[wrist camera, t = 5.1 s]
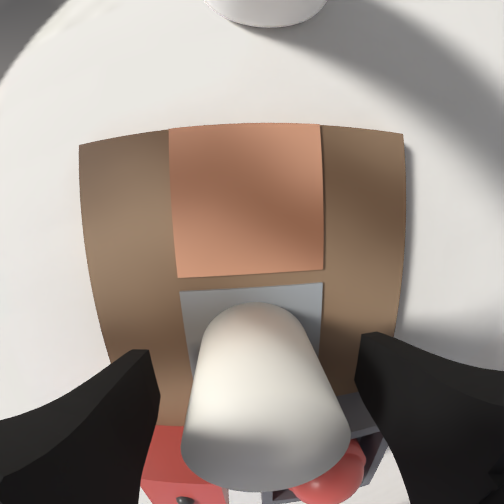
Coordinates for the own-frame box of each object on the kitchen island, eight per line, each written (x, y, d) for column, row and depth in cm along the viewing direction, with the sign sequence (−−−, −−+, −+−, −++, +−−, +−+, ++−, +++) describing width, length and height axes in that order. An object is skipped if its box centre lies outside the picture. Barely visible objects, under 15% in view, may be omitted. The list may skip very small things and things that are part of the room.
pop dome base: (355, 455, 13) (368, 484, 10) (258, 473, 12) (262, 505, 10) (377, 386, 11) (399, 418, 9) (254, 407, 11) (260, 447, 9)
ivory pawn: (242, 404, 11) (247, 503, 6) (179, 339, 10) (144, 439, 5) (325, 356, 10) (372, 449, 6) (269, 280, 10) (299, 364, 5)
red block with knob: (227, 464, 12) (229, 519, 8) (165, 462, 12) (157, 515, 8) (220, 426, 11) (220, 491, 7) (149, 424, 11) (133, 484, 7)
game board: (356, 446, 13) (360, 456, 12) (158, 463, 13) (156, 473, 12) (392, 136, 10) (404, 133, 9) (88, 147, 9) (77, 144, 8)
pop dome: (347, 460, 11) (366, 506, 8) (278, 473, 11) (288, 524, 8) (361, 417, 11) (389, 468, 7) (280, 432, 10) (293, 493, 7)
